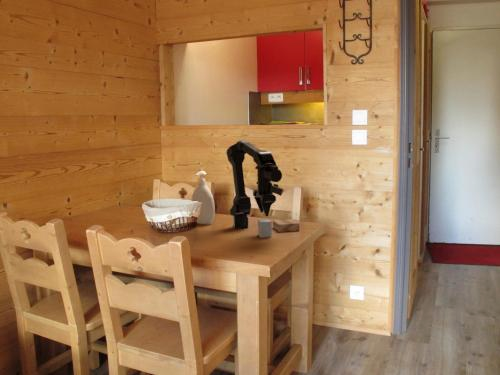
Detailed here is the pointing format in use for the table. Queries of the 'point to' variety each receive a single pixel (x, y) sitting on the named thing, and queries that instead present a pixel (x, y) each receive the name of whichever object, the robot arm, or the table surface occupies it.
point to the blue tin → (264, 228)
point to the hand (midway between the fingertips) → (264, 214)
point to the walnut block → (286, 225)
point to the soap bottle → (204, 200)
